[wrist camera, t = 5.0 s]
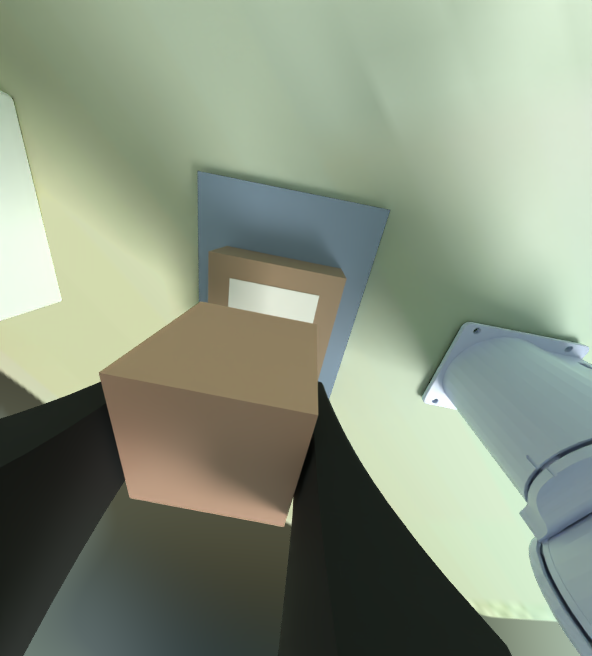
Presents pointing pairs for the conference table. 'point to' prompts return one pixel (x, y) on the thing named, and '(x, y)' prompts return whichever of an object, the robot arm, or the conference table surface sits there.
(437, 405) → the robot arm
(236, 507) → the terracotta cube
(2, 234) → the gable box
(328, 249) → the plate
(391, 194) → the conference table surface
